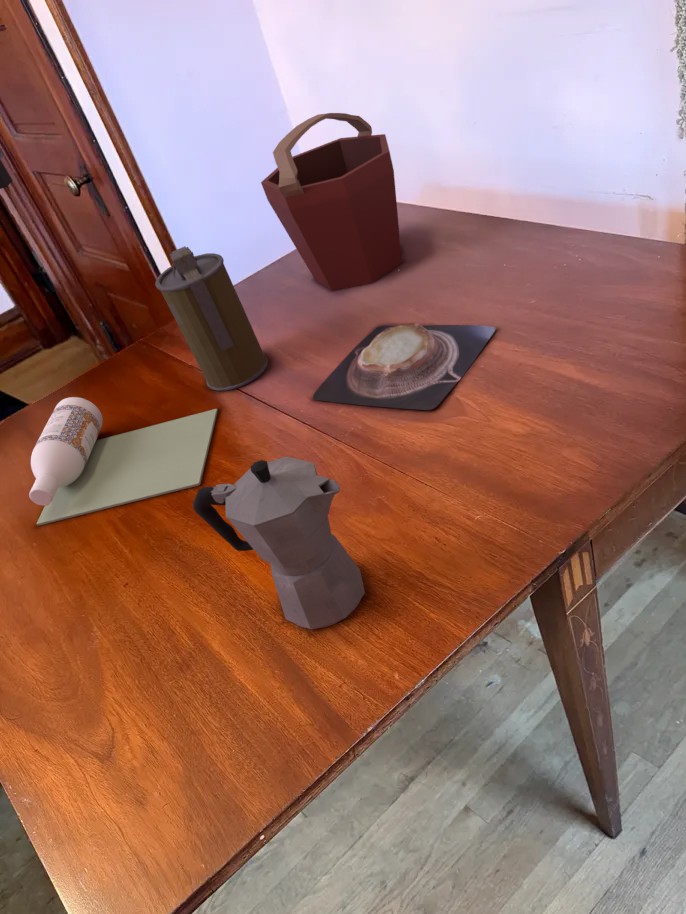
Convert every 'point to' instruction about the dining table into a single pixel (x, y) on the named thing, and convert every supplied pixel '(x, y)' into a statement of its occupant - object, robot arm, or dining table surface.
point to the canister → (212, 319)
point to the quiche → (405, 366)
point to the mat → (137, 467)
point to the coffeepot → (289, 537)
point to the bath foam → (64, 447)
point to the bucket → (338, 204)
